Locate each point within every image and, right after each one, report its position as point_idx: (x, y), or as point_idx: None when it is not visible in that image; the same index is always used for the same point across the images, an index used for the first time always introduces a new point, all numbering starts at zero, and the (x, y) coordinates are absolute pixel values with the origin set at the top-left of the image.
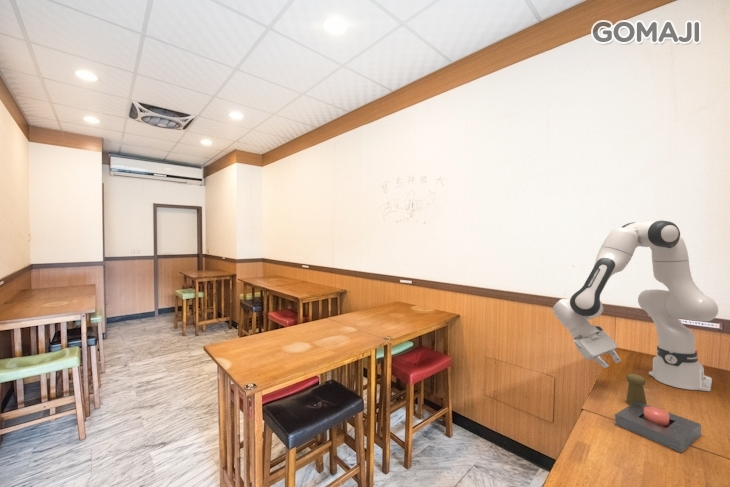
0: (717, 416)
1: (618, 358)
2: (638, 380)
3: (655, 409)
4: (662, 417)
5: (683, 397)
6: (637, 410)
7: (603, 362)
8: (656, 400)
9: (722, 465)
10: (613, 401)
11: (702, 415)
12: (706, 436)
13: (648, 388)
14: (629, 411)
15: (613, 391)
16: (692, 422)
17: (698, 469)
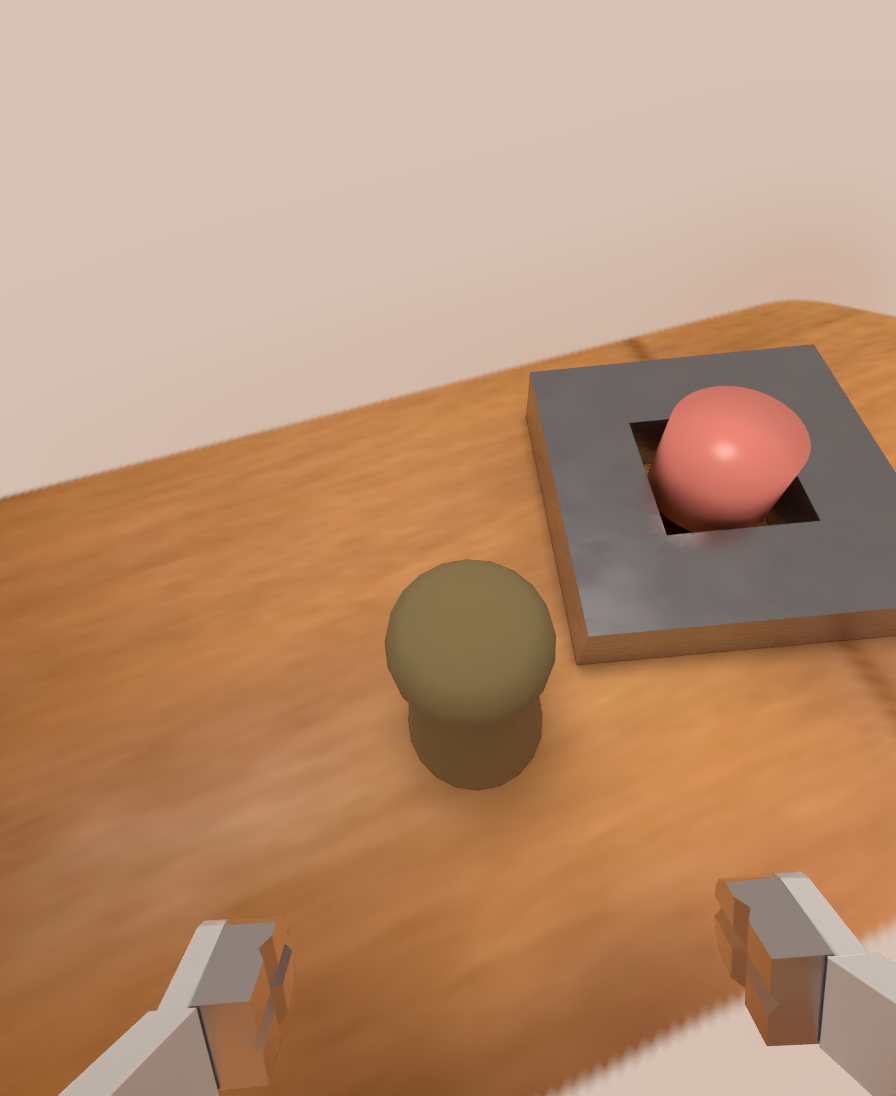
0: (232, 454)
1: (226, 961)
2: (523, 580)
3: (714, 445)
4: (764, 397)
5: (68, 620)
6: (736, 562)
7: (878, 963)
8: (272, 681)
9: (699, 322)
10: (605, 841)
11: (282, 484)
12: (517, 406)
13: (51, 825)
14: (814, 578)
15: (390, 975)
16: (554, 389)
17: (824, 336)
